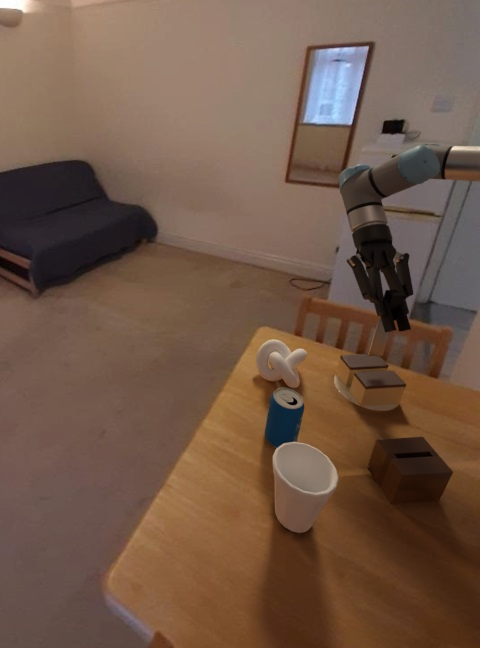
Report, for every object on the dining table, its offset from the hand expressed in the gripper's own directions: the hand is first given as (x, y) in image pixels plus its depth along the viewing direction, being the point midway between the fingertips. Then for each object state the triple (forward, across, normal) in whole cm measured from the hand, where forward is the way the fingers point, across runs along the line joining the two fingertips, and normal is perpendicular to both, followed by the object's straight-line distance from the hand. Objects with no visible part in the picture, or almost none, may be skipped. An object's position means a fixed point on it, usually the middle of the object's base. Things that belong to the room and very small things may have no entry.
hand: (397, 330), depth 86 cm
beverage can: (+21, +26, -9) cm, 34 cm away
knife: (+4, 0, -10) cm, 11 cm away
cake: (+11, 0, -17) cm, 20 cm away
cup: (+32, +30, +2) cm, 44 cm away
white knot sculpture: (+7, +19, -22) cm, 30 cm away
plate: (+12, 0, -17) cm, 21 cm away
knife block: (+29, +7, -1) cm, 30 cm away
